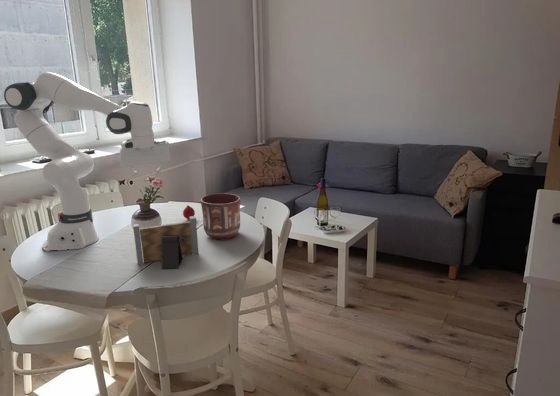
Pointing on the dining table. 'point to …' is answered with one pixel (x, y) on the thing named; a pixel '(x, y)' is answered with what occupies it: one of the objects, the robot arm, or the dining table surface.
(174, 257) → the phone stand
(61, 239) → the robot arm
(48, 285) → the dining table surface
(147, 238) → the door
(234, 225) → the pottery
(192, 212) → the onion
